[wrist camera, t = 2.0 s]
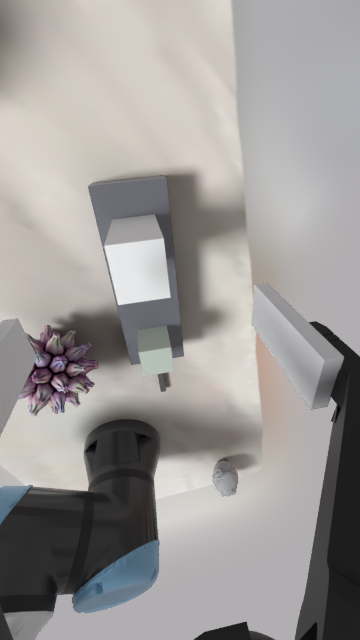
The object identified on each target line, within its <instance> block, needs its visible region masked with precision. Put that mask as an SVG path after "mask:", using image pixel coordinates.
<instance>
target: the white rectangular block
mask: <svg viewBox="0 0 360 640" xmlns="http://www.w3.org/2000/svg"><path fill="white" fill-rule="evenodd" d="M104 248H105V252H106V256H107V260H108V264H109V269H110V273H111V277H112V281H113V285H114V290H115V294H116V298H117V302H118V305H123V304H130V303H137V302H144V301H150V300H157V299H164V298H171V297H170V288H169V280H168V271H167V262H166V253H165V245H164V238H163V235H162V232H161V230H160V227H159V225H158V222H157V219H156V217H155V214H154V215H146V216H137V217H129V218H120V219H112V222H111V225H110V229H109V232H108V235H107V238H106V241H105V244H104Z"/></svg>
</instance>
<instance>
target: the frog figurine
mask: <svg viewBox="0 0 360 640" xmlns="http://www.w3.org/2000/svg"><path fill="white" fill-rule="evenodd" d="M213 483H214V484H215V487H216V489H217V490H218V491H219V492H220V493H221V495H222V496H231V495H234V494H235V493H236V489H237V484H238V474H237V471H236V470H235V468H234V467H233V466H232V464H231V463H229V462H227V461H220V462H218V463H217V464H216V465H215V467H214V472H213Z"/></svg>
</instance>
